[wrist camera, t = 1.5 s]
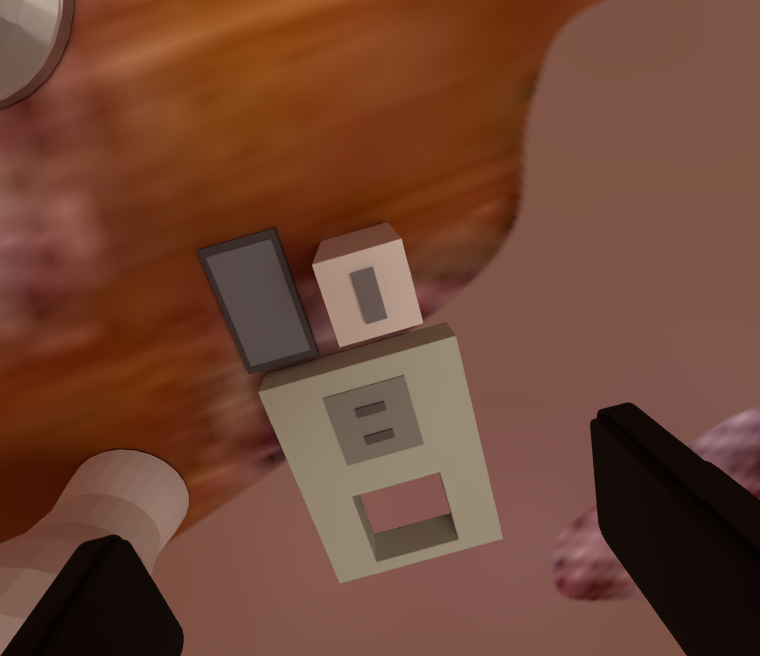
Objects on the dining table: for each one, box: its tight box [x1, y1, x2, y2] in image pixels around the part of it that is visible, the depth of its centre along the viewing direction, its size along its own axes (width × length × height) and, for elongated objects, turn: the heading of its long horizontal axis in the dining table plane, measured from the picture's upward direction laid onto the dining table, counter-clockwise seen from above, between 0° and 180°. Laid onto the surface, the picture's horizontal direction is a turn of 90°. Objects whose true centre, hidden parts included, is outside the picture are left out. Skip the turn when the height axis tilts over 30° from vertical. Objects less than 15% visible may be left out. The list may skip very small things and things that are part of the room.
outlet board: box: [258, 322, 503, 583], centre depth 29 cm, size 16×12×3 cm
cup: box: [0, 450, 189, 655], centre depth 23 cm, size 11×11×15 cm
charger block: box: [312, 222, 423, 347], centre depth 22 cm, size 4×4×7 cm
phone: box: [197, 227, 319, 374], centre depth 26 cm, size 8×4×1 cm, turn 15°
